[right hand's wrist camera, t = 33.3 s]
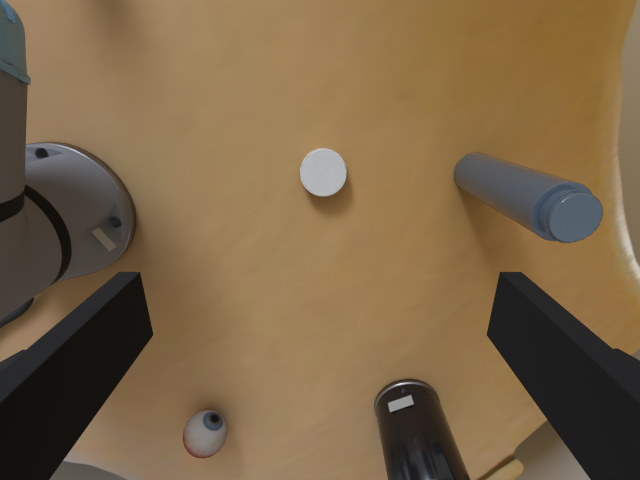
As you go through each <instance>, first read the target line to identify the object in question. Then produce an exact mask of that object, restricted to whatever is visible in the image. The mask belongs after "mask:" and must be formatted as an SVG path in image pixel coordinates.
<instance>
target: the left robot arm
mask: <svg viewBox="0 0 640 480" xmlns="http://www.w3.org/2000/svg"><path fill="white" fill-rule="evenodd" d="M374 407H375V413H376V417H377V420H378V426H379V432H380V437H381V443H382V448H383V454H384V459H385V465H386V470H387V476H388V480H470V478H469V475H468V473H467V470H466V468H465V465H464V463H463V460H462V458H461V455H460V453H459V450H458V448H457V445H456V443H455V440H454V438H453V435H452V433H451V430H450V427H449V425H448V422H447V420H446V417H445V415H444V412H443V410H442V407H441V405H440V401H439V398H438V395H437V393H436V391H435V390H434V389H433V388H432V387H431V386H430V385H428V384H427V383H425V382H422V381H419V380H413V379H406V380H400V381H396V382H393V383H391V384H389V385H387V386H386V387H385V388H383V389H382V390H381V391H380V392H379V394H378V395H377V397H376V400H375V405H374Z"/></svg>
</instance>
